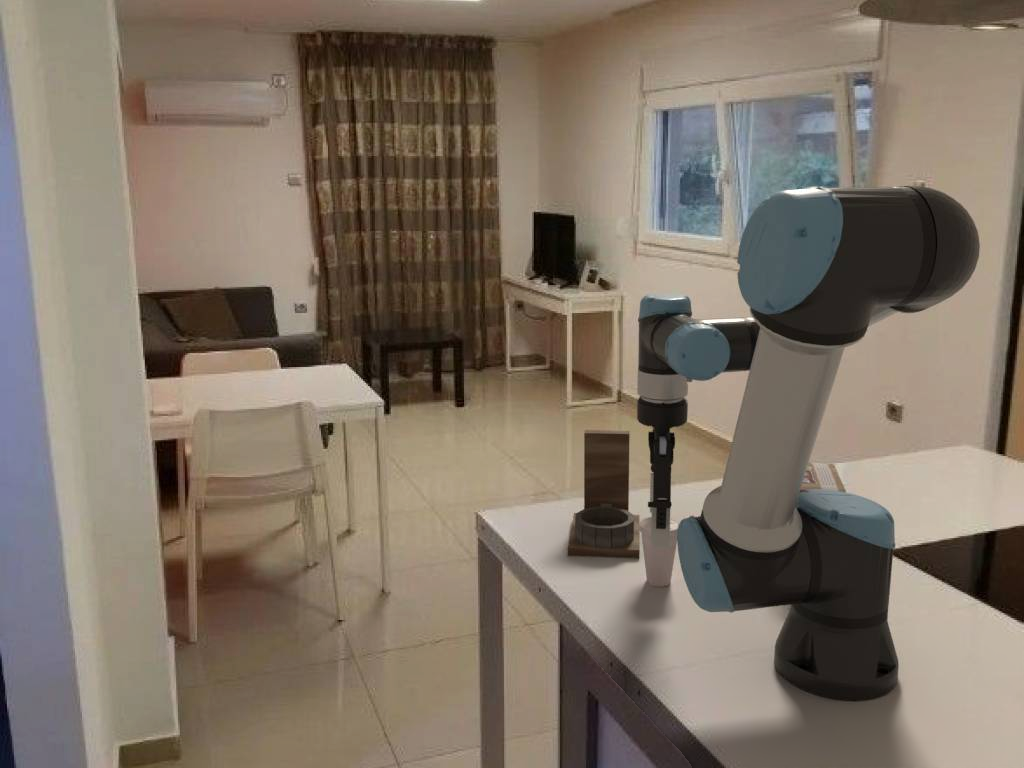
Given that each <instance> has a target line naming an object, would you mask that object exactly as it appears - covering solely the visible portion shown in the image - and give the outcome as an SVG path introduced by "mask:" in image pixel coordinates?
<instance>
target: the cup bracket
mask: <svg viewBox="0 0 1024 768" xmlns="http://www.w3.org/2000/svg"><path fill="white" fill-rule="evenodd" d="M630 431H631V430H610V429H609V430H603V429H601V430H600V429H596V430H595V429H585V430H584V434H583V435H584V436H583V439H584V442H583V443H584V446H583V447H584V448H583V449H584V453H583V455H584V457H583V458H584V459H583V461H584V463H583V465H584V466H583V468H584V475H583V476H584V477H583V479H584V480H583V481H584V482H583V484H584V485H583V487H584V489H583V493H584V494H583V495H584V496H583V497H584V499H583V500H584V501H583V504H584V505H583V507H584V508H583V509H582V510H580V511H577V512H574V513H573V516H572V523H571V527H570V532H569V539H568V542H567V543H568V544H567V556H569V557H571V556H573V557H590V558H591V557H592V558H593V557H594V558H616V559H617V558H618V559H619V558H621V559H640V556H641V555H640V547H641V546H640V545H641V542H640V538H641V537H640V533H641V531H640V530H639V527H640V515H639V514H633V513H632V512H630V511H629V502H630V500H629V497H630V495H629V493H630V435H631V434H630V433H631V432H630Z"/></svg>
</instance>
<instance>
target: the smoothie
mask: <svg viewBox="0 0 1024 768" xmlns="http://www.w3.org/2000/svg"><path fill="white" fill-rule="evenodd" d="M658 499H661V498H658ZM651 519H652V516H651V517H646V518H643V519H641V521H639V530H640V533H641V541H642V550H643V557H644V558H643V559H644V566H645V576H646V577H645V578H646V582H647V584H649V585H651V586H654V587H661V588H662V587H666V586H669V585H670V584H671V581H672V576H673V569H674V562H675V556H676V550H677V532H678V526H679V523H680V521H677V520H676V519H673V518H671V517H670V541H669V548H661V547H651Z"/></svg>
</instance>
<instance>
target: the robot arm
mask: <svg viewBox="0 0 1024 768" xmlns="http://www.w3.org/2000/svg"><path fill="white" fill-rule="evenodd" d="M980 245H981V244H980V237H979V231H978V227H976V223H975V221H974V220H973V218H972V216H971V214H970V213H969V212H968V210H967V209H966V208H965V207H964V206H963V204H961V203H960V202H958V201H957V200H956V199H955V198H954V197H952V196H950V195H948V194H946V193H945V192H943V191H941V190H938V189H936V188H935V189H934V188H931V187H927V186H921V185H900V186H872V187H871V186H870V187H869V186H865V187H863V186H862V187H861V186H860V187H858V186H857V187H826V186H816V185H814V186H807V187H804V188H800V189H787V190H786V189H785V190H781V191H776V192H775V193H773V194H772V195H770V196H769V197H768V198H766V199H764V200H762V201H760V203H759V205H757V207H756V208H754V210H753V212H752V213H751V214H750V217H749V218H748V220H747V223H746V225H745V227H744V230H743V232H742V235H741V239H740V243H739V247H738V251H737V262H736V263H737V264H738V265H739V270H738V271H737V284H738V287H739V291H740V294H741V297H742V298H743V300H744V302H745V303H746V305H747V306H748V307H749V312H750V315H751V316H747V317H744V316H742V317H722V318H719V317H718V318H703V319H702V318H701V319H696V318H692V316H693V311H692V302H691V299H690V297H689V296H687V295H684V294H681V293H670V292H669V293H668V292H667V293H666V292H665V293H663V292H660V293H651V294H646V295H644V296H643V297H642V298H641V299H640V302H639V313H638V318H637V321H638V358H637V359H638V360H637V361H638V364H637V365H638V367H637V380H636V381H637V386H636V391H637V392H636V393H637V395H639V397H638V398H637V407H636V420H637V421H638V422H639V423H640V424H641V425H643V426H646V427H651V428H652V430H649V431H648V432H647V433H648V436H647V437H648V439H647V440H648V441H647V442H648V448H649V454H650V455H649V462H650V465H651V466H650V470H651V473H650V484H649V488H650V489H649V501H647V508H649V513H651V517H652V519H651V547H661V548H669V541H670V518H671V508H672V501H671V497H672V493H671V492H672V490H671V489H672V488H671V487H672V465H673V463H674V449H675V448H676V447H675V446H676V436H675V431H671V429H672V428H674V427H675V428H678V427H681V426H684V425H685V424H686V423H687V421H688V411H689V409H688V408H689V407H688V406H689V405H688V404H689V401H688V400H687V398H686V397H687V396H688V394H689V393H688V392H689V385H688V383H692V382H693V380H694V381H698V382H699V381H700V382H704V381H709V380H712V379H713V378H715V377H718V376H719V375H721V374H723V373H736V372H737V373H738V372H747V371H748V376H747V379H746V384H745V388H744V392H743V396H742V400H741V405H740V408H739V413H738V416H737V417H738V418H737V421H736V424H735V425H736V426H735V428H734V433H733V436H732V441H731V444H730V450H729V454H728V457H727V462H726V466H725V470H724V473H723V478H722V480H721V481H722V482H721V485H719V486H718V487H715V488H714V489H713V490H711V491H710V492H709V493H708V494H707V495H706V497H705V499H704V501H703V505H702V510H701V513H700V515H699V516H694V515H689V517H686V518H683V519H681V520H680V521H679V526H678V532H677V544H676V546H677V551H678V560H679V564H680V569H681V572H682V576H683V579H684V582H685V585H686V588H687V590H688V593H689V594H690V596H691V598H692V600H693V602H695V604H696V605H697V607H699V608H700V609H701V610H703V611H705V612H708V613H723V612H724V613H725V612H726V613H727V612H729V614H731V613H735V612H740V611H749V610H757V609H764V608H773V607H781V606H782V607H783V606H790V609H789V610H788V613H787V615H786V617H785V620H784V622H783V625H782V626H781V629H780V631H779V633H778V637H776V641H775V644H774V653H773V654H774V656H773V660H774V661H773V663H774V666H775V669H776V671H777V672H778V673H779V674H780V676H782V677H783V678H784V679H785V680H786V681H787V682H789V683H790V684H792V685H794V686H795V687H798V688H799V689H801V690H804V691H807V692H809V693H812V694H814V695H818V696H821V697H825V698H829V699H836V700H842V701H843V700H845V701H863V700H871V699H875V698H876V699H877V698H880V697H882V696H885V695H886V694H888V693H890V692H891V691H892V690H893V689H895V687H896V686H897V683H898V678H899V658H898V656H897V649H896V647H895V643H894V640H893V636H892V633H891V628H890V627H889V626H890V625H889V623H888V622H889V621H888V617H889V616H888V615H889V605H890V592H891V582H892V581H891V580H892V570H893V569H892V568H893V559H894V558H893V557H894V549H895V548H896V542H895V541H896V539H895V521H894V517H893V515H892V513H891V512H890V511H889V510H888V509H887V508H886V507H884V506H883V505H882V504H880V503H878V502H877V501H873V500H871V499H870V498H867V497H864V496H862V495H861V496H860V495H859V494H858V495H857V494H854V493H849V492H847V491H846V492H841V491H835V490H827V489H810V490H805V491H804V492H801V493H800V494H799V492H800V489H801V486H802V483H803V479H804V476H805V473H806V470H807V467H808V463H810V460H811V457H812V453H813V451H814V446H815V443H816V441H817V438H818V435H819V431H820V428H821V425H822V421H823V419H824V414H825V412H826V408H827V406H828V402H829V398H830V396H831V392H832V388H833V387H834V382H835V380H836V377H837V373H838V369H839V367H840V364H841V361H842V357H843V353H844V351H845V348H847V347H851V346H853V345H855V344H857V343H859V342H860V341H861V340H862V339H863V338H865V335H866V334H867V331H868V327H870V326H873V325H875V324H877V323H879V322H880V321H882V320H884V319H887V318H888V317H891V316H893V315H895V314H897V313H900V314H915V313H919V312H920V313H921V312H922V311H925V310H927V309H930V308H931V307H934V306H937V305H938V304H941V303H942V302H944V301H946V300H948V299H949V298H951V297H953V296H954V295H956V294H957V293H958V292H959V291H961V290H962V289H963V288H964V287H965V286H966V284H967V283H968V282H969V280H971V278H972V276H973V273H974V272H975V271H976V267H977V265H978V262H979V258H980V250H981V249H980V248H981V246H980ZM658 498H661V499H658ZM795 505H796V506H797V507H796V508H795Z"/></svg>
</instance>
